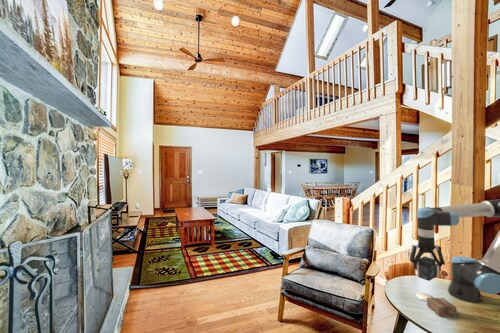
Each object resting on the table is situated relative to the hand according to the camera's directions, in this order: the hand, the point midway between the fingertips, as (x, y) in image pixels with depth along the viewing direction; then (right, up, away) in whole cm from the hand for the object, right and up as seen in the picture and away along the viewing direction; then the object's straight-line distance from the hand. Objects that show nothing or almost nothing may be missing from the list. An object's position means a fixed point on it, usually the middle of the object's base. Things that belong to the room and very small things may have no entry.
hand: (427, 275), depth 136 cm
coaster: (+5, -17, +8) cm, 20 cm away
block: (+4, -17, -5) cm, 19 cm away
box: (0, -1, 0) cm, 1 cm away
